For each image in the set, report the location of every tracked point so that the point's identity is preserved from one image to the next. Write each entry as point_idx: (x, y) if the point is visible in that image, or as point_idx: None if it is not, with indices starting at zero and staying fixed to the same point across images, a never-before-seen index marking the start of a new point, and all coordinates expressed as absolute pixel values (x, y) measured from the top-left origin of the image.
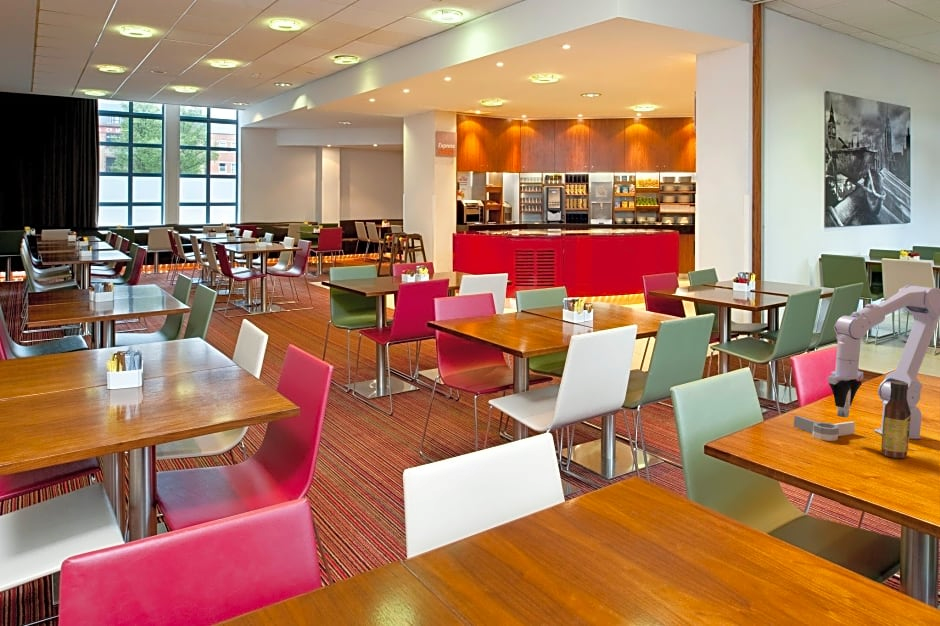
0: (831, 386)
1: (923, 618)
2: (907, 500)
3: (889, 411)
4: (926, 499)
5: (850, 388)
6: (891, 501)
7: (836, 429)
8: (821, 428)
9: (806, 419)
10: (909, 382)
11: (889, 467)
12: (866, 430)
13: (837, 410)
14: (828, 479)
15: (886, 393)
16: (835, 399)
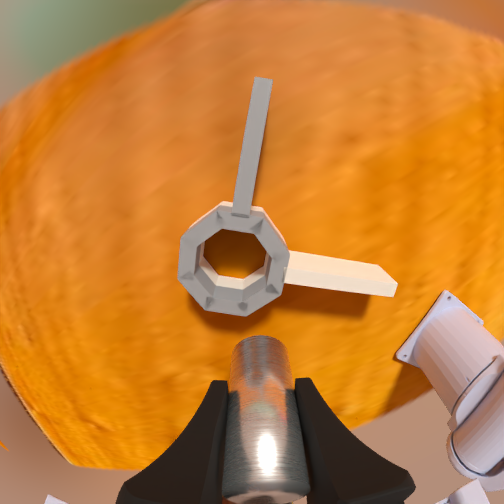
0: (140, 478)
1: (4, 448)
2: (86, 455)
3: None
4: (110, 466)
5: (297, 498)
6: (66, 444)
7: (233, 311)
8: (178, 277)
9: (244, 151)
10: (487, 486)
11: (166, 434)
12: (437, 273)
13: (238, 360)
14: (27, 385)
15: (500, 405)
16: (200, 411)
